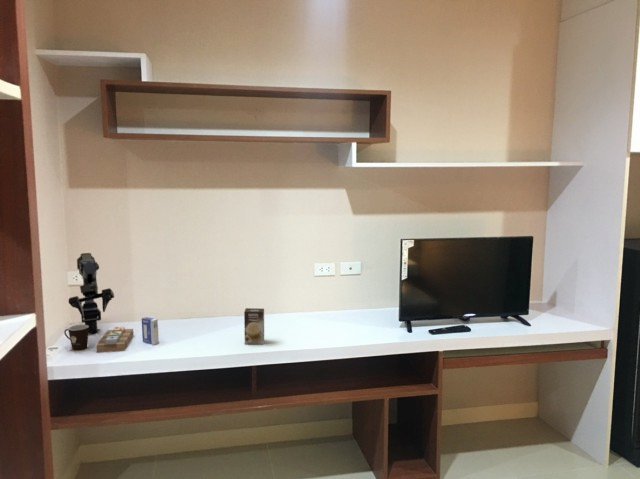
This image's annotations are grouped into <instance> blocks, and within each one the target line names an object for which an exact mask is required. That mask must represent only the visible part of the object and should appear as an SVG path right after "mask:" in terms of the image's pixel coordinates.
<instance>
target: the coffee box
mask: <svg viewBox="0 0 640 479" xmlns="http://www.w3.org/2000/svg"><path fill="white" fill-rule="evenodd" d="M243 316H244V318H243V319H244V324H243V325H244V327H243V328H244V345H252V346H253V345H254V346H255V345H260V346H261V345H262V346H263V345H264V343H265V308H259V307H258V308H254V307H253V308H249V307H247V308H245V310H244V313H243Z"/></svg>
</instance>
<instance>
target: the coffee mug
mask: <svg viewBox="0 0 640 479" xmlns="http://www.w3.org/2000/svg"><path fill="white" fill-rule="evenodd" d="M88 330H89V326H88V325H85V324H76V325H72V326H69V327H68V328H66V329H64V335H65V337H66V338H67V339H68V340H69V341H70V345H71V349H72V351H74V352H77V351H78V352H80V351H85V350H87V349H88V347H89V346H88V344H89V341H88V340H89V334H88ZM67 331H68V335H69V336H68V335H67Z"/></svg>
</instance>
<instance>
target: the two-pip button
mask: <svg viewBox="0 0 640 479" xmlns="http://www.w3.org/2000/svg"><path fill="white" fill-rule="evenodd" d="M125 329H126V328H125V326H119V327H118V326H115V327H113V329H111V330H112V332H117V331H122V333H124V332H125Z"/></svg>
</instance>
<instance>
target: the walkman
mask: <svg viewBox="0 0 640 479" xmlns="http://www.w3.org/2000/svg"><path fill="white" fill-rule="evenodd" d="M141 330H142V331H141V332H142V335H141V336H142V342H143V343H145V344H149V345H150V344H151V345H156V344H159V342H160V340H159V339H160V338H159V323H158V318H154V317H153V318H152V317H148V316H146V317H142V318H141Z"/></svg>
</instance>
